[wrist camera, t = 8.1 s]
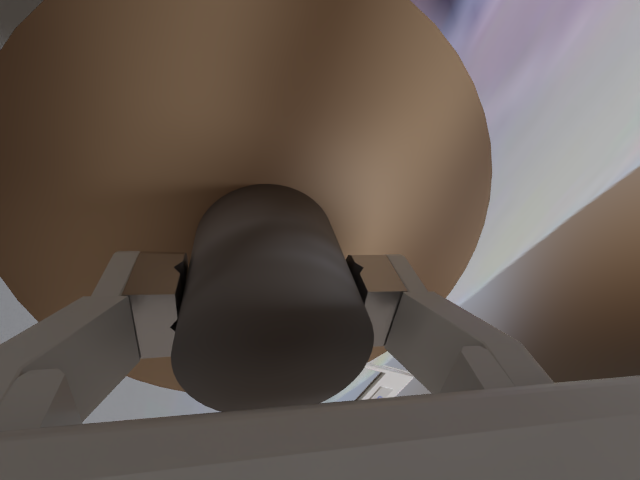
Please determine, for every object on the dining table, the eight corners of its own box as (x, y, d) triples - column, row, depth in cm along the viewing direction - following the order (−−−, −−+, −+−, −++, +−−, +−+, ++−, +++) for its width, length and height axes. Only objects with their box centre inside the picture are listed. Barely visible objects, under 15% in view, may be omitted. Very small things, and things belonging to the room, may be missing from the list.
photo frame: (362, 431, 61) (268, 416, 53) (360, 425, 62) (267, 409, 54) (414, 378, 55) (317, 353, 48) (411, 372, 56) (316, 346, 48)
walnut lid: (550, 0, 9) (806, -10, 5) (410, 361, 16) (467, 479, 12) (-132, -130, 6) (-952, -439, 2) (68, 387, 13) (-10, 556, 9)
